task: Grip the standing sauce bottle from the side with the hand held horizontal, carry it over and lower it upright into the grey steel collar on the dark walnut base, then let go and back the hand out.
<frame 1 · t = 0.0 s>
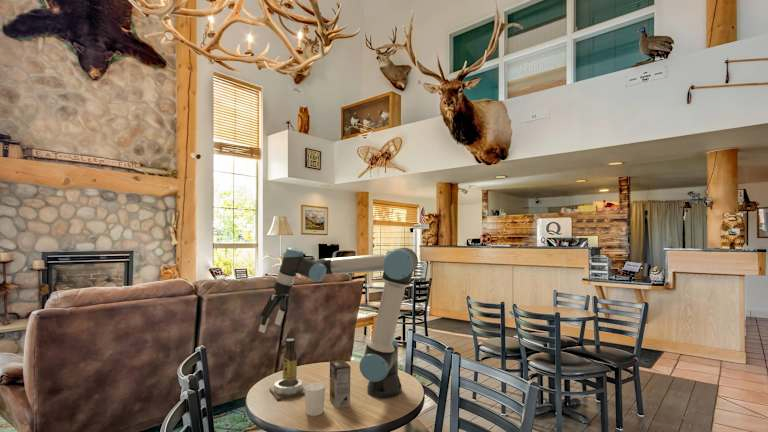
hand: (269, 327, 180), 28 cm above the table, tool tilted 20°, fingers open, 13 cm apart
sauce bottle: (289, 382, 191), on the table
walnut base: (288, 392, 179), on the table
white cup: (314, 412, 160), on the table
steel collar: (288, 386, 179), on the walnut base, point 2 cm above the table
coffee box: (339, 403, 169), on the table
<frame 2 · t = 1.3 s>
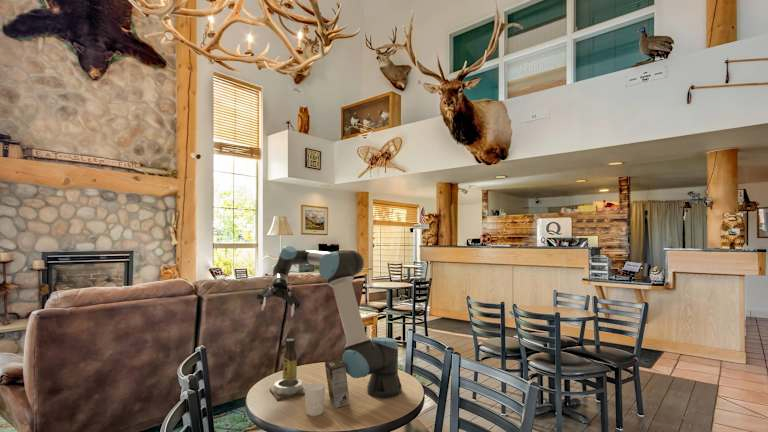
hand: (278, 311, 186), 34 cm above the table, tool tilted 65°, fingers open, 13 cm apart
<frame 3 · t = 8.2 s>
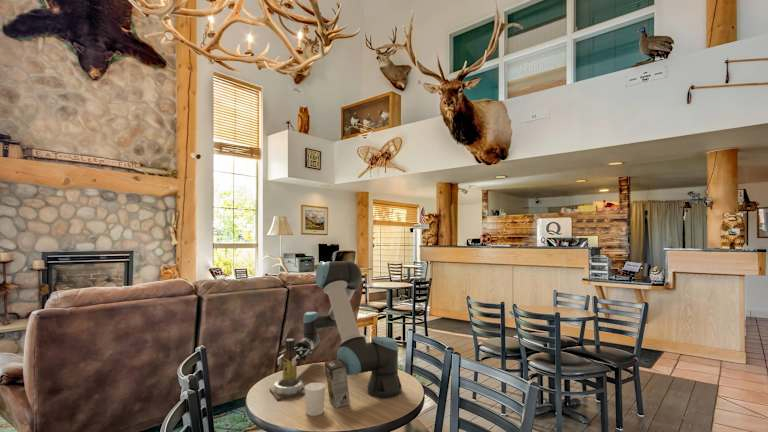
hand: (285, 361, 186), 11 cm above the table, tool horizontal, fingers closed on sauce bottle, 6 cm apart
sauce bottle: (289, 382, 191), on the table, touching gripper
coffee box: (339, 402, 169), on the table, touching arm
everything else where it was.
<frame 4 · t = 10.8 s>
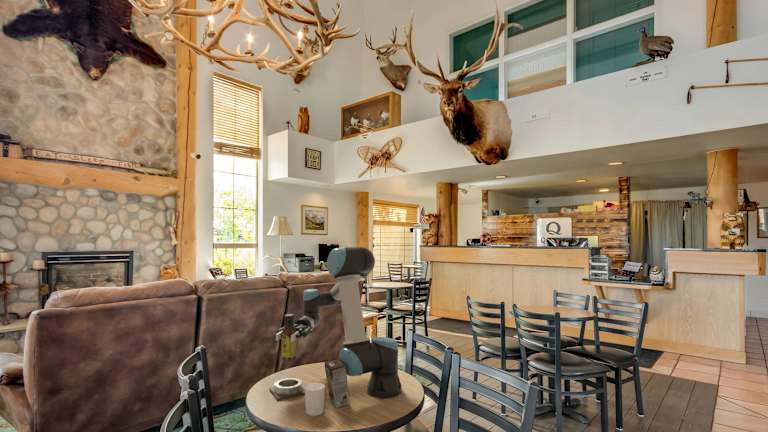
hand: (284, 337, 175), 25 cm above the table, tool horizontal, fingers closed on sauce bottle, 6 cm apart
sauce bottle: (288, 360, 180), point 14 cm above the table, touching gripper
everything else where it was.
when the fingers open (13 cm above the table, at t = 13.8 s): sauce bottle drops 1 cm, resting on walnut base.
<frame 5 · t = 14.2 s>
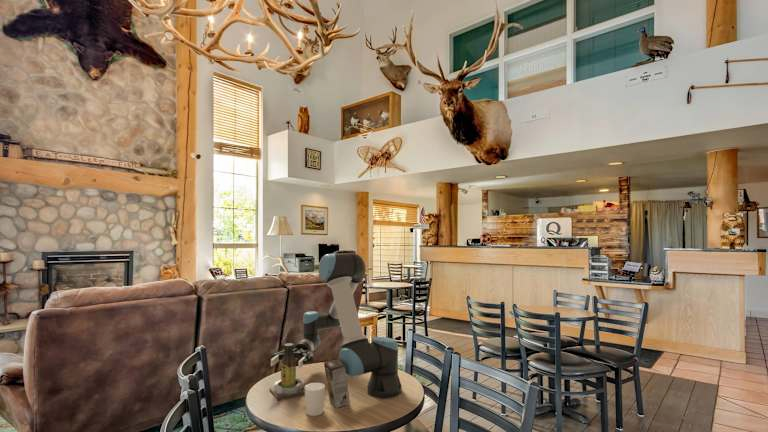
hand: (285, 363, 176), 13 cm above the table, tool horizontal, fingers open, 12 cm apart
sauce bottle: (288, 390, 180), point 1 cm above the table, touching walnut base
everything else where it was.
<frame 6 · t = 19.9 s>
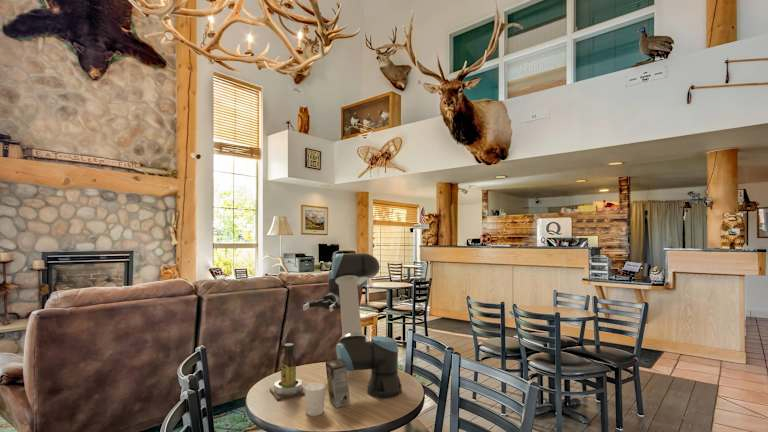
hand: (317, 308, 203), 32 cm above the table, tool horizontal, fingers open, 13 cm apart
nothing on the table moved.
at the end: sauce bottle 0.1 cm off-centre on the steel collar, point 0.8 cm above the steel collar's base; sauce bottle tilted 0°; the gripper is holding nothing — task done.
